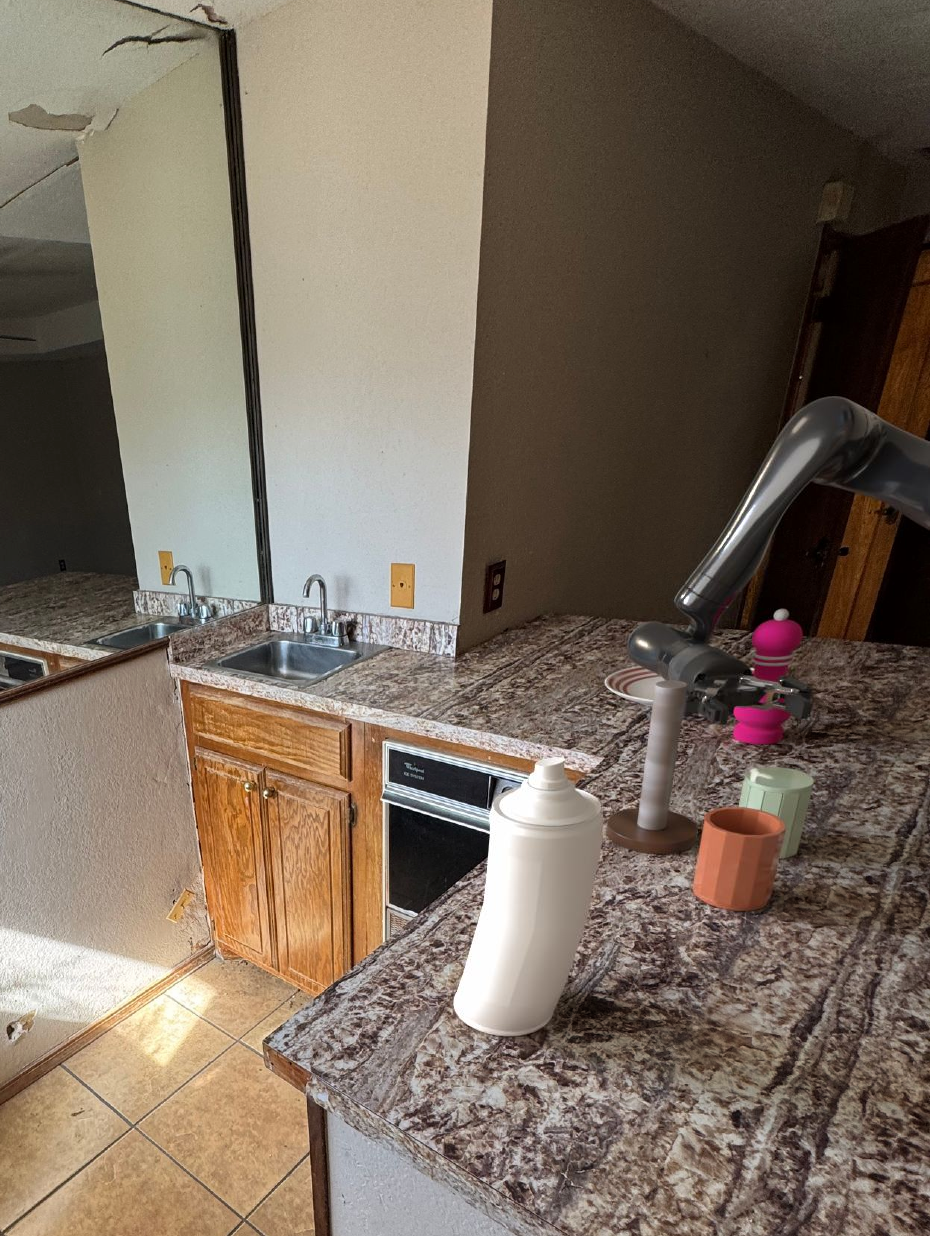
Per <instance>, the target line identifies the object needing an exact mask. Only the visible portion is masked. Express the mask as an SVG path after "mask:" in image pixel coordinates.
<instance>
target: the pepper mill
mask: <svg viewBox="0 0 930 1236" xmlns="http://www.w3.org/2000/svg"><path fill="white" fill-rule="evenodd" d="M789 617H790V613H789V611H788V610H787V609H786V608H779V609H777V610H776V611H775V612H774V614H773V619H769V620H767V621H764V622H762V623H760V625H758V626H757V627H756V628H755V629H754V631H753V634H752V635H751V645H752V647H753V648H754V649H755V650H756V651H754V652H753V653H752V656H753V657H752V658H751V662H752V663H753V664H754V667H753V668H754V673H753V675H754V677H756V678H757V679H761V680H766V681H773V682H778V678H779V676H787V673H788V672H787V671H788V668H789V665H790V664H793V663H794V657H795V652H793V651H794V650H795V649H796V648H797V647H799V646H800V644H801V643H802V640H803V636H804V635H803V633H804V632H803V629H802V627H801V625H800V624H799V623H798V622H796V621H794V620H791V619H788V618H789ZM766 695H767V692H766ZM766 695H765V696H764V697H763V698H762V699H761V700H760V701H759V702H762V703H765V701H766ZM777 700H778V702H782V703H784V701H785V700H783V699H781V698H780V699H777ZM733 715H734V717H735V719H736V720H737V721H738V723H736V724H734V728H733V733H732V737H733V738H734V739H735V740H737V741H739V742H742V743H746V744H751V745H772V744H777V743H779V742H780V741H782V739H783V736H784V735H783V734H784V730H785V729H784V727H783V726H782V725H783V724H784V723H785V722H787V721H788V720H790V718H791V716H792V715H791V714H789V713H788V712H786V711H785V710H782V709H776V708H773V709H771V710H768V711H766V710H760V709H755V708H749V707H746V708H739V707H734V708H733Z"/></svg>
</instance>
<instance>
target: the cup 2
mask: <svg viewBox="0 0 930 1236" xmlns="http://www.w3.org/2000/svg"><path fill="white" fill-rule="evenodd" d="M785 832H786V825H785V822H784V821H783V820H781V819H780V818H779V817H777V816H776V815H773V814H770V813H768V812H765V811H762V810H757V809H751V808H746V807H739V806H724V807H718V808H713V809H711V810H710V811H708V812H706V813H705V814H704V818H703V824H702V829H701V834H700V841H699V847H698V852H697V856H696V857H697V858H696V864H695V869H694V875H693V883H692V892H693V894H694V895H695V896H696V897H697V899H699V900H701V902H704V903H705V904H708V905H710V906H713V907H716V908H719V909H723V910H727V911H736V912H750V911H757V910H760V909H763V908H764V907H766V906H767V904H769V901H770V899H771V898H772V897H771V896H772V892H773V889H774V888H773V887H774V883H775V879H776V875H777V870H778V865H779V862H780V859H781V858H780V853H781V849H782V845H783V840H784V836H785Z"/></svg>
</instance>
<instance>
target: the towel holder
mask: <svg viewBox="0 0 930 1236" xmlns="http://www.w3.org/2000/svg"><path fill="white" fill-rule="evenodd" d="M686 690H687V684H686V683H685V682H682V681H675V680H667V681H660V682H657V683H656V684H655V690H654V698H653V706H652V707H651V714H650V722H649V730H648V736H647V737H648V738H647V745H646V751H645V752H646V753H645V761H644V768H643V776H642V783H641V791H640V799H639V806H638V807H634V808H633V807H632V808H626V809H622V810H619V811H616V812H614V813H612V814H611V815H610V816H609V817H608V819H607V822H606V829H605V830H606V831H605V832H606V833H605V834H606V836H607V837H608V838H609V840H610V841H611V842H613V843H614V844H616V845H618V846H619V847H621V848H623V849H627V850H630V851H632V852H633V851H634V852H638V853H642V854H643V853H644V854H651V855H670V854H671V855H672V854H676V853H677V854H678V853H682V852H685V851H687V850H689V849H691V848H692V847H694V846H695V844H696V843H697V838H698V832H699V828H698V826H697V824H696V823H695V822H694V820H692V819H691V818H689V817H687V816H685V815H683V814H681V813H678V812H675V811H671V810H669V809H670V802H671V796H672V791H673V783H674V777H675V776H674V775H675V769H676V764H677V756H678V750H679V745H680V744H679V743H680V736H681V730H682V723H683V718H684V716H683V710H684V704H685V697H686Z"/></svg>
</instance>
